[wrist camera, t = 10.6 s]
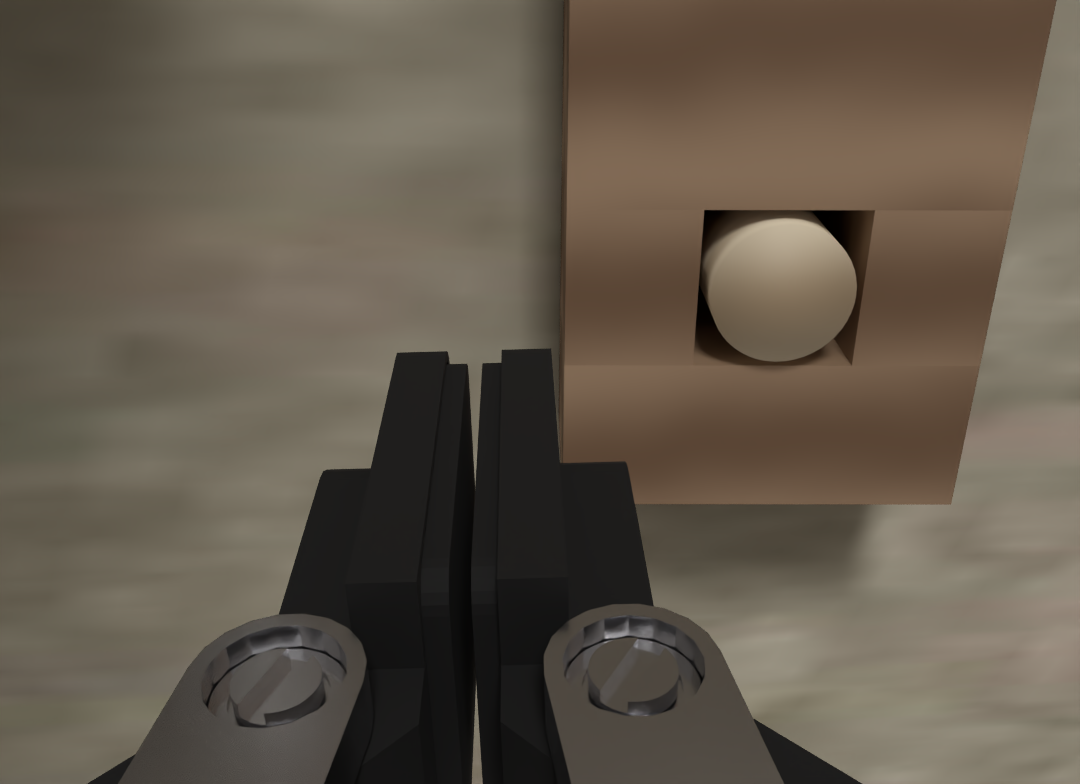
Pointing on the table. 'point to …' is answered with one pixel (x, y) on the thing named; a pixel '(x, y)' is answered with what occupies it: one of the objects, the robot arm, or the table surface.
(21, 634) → the table surface
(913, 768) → the table surface
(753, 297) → the peg
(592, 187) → the press block
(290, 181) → the table surface
